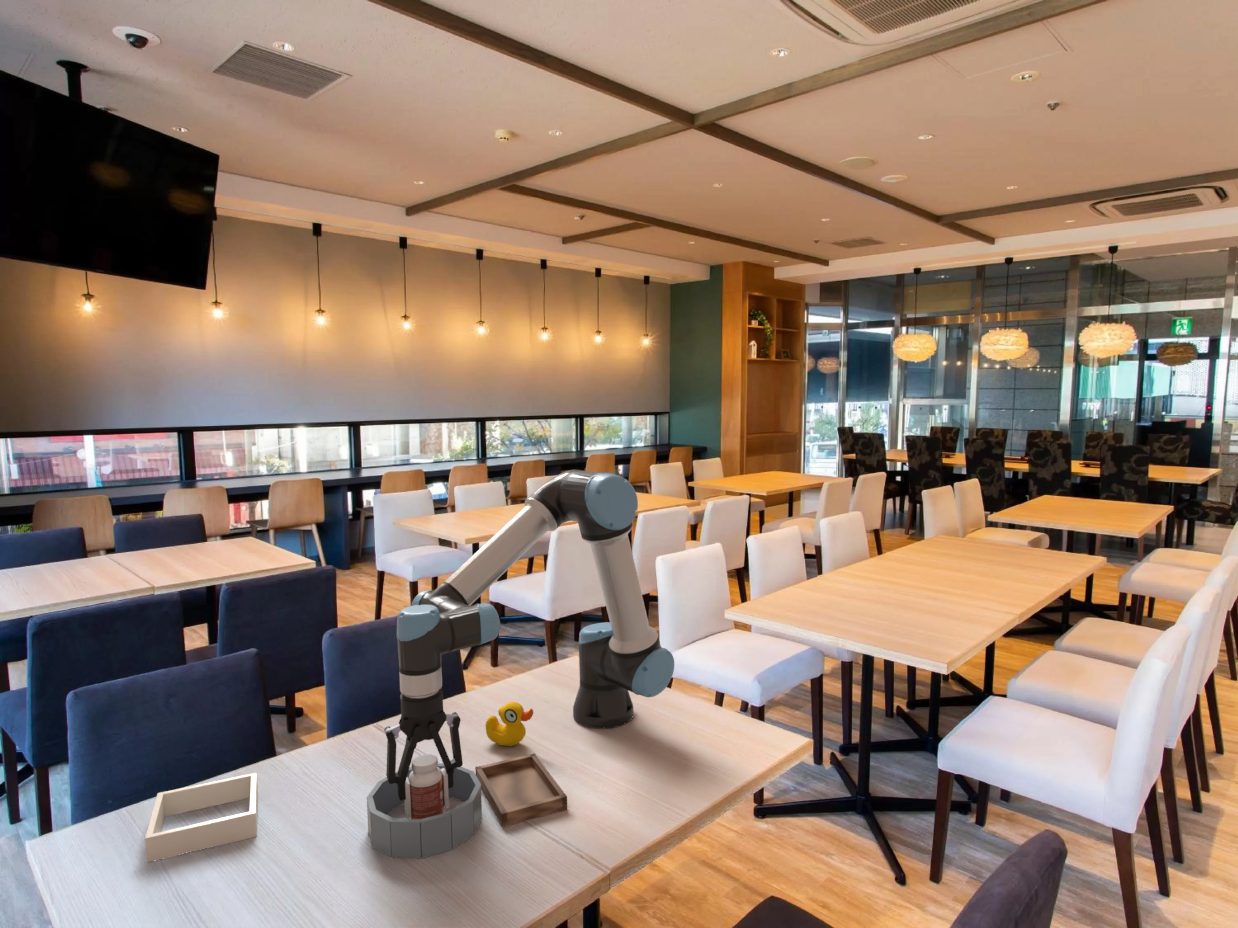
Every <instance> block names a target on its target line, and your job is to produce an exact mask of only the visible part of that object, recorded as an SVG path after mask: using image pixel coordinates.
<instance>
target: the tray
mask: <svg viewBox="0 0 1238 928" xmlns="http://www.w3.org/2000/svg"><path fill="white" fill-rule="evenodd" d="M475 774H476V776H477V778H478V780H479V782H480V783H481V792H482V793H483V796H485V798H486V801H487V802H488V804H489V806H490V807H491V809H492V811H493V813H494V815H495V817H496V819H497V821H498V822H499V824H500V826H501V827H502V828H504V827H507V826H511V825H515V824H519V823H523V822H526V821H530V820H534V819H537V818H541V817H544V816H548V815H552V814H555V813H559V812H563V811H566V810H568V796H567V794H566V793H565V792H564V790H563V789H562V788H561V787H560V785H559V784H558V782H557V781H556V779H554V778H553V775H552V774H551V773H550V772H549V771H548V769H547V768H546V766H545V765H544V764H543V762H542V761H541V760H540V759H539V757H538V756H537V755H536V753H530V754H526V755H522V756H518V757H517V756H516V757H514V758H509V759H505V760H499V761H497V762H492V763H487V764H484V765H478V766H475Z"/></svg>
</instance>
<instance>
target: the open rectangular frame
mask: <svg viewBox="0 0 1238 928" xmlns="http://www.w3.org/2000/svg"><path fill="white" fill-rule="evenodd" d="M246 799H249V811H246V812H241V813H237V814H233V815H229V816H224V817H220V818H215V819H211V820H206V821H202V822H198V823H194V824H190V825H185V826H180V827H175V828H170V829H168V830H162V828H163V824H164V821H165V817H169V816H174V815H179V814H183V813H189V812H191V811H197V810H200V809H206V808H211V807H215V806H218V805H219V806H220V805H223V804H229V803H232V802H236V801H242V800H246ZM258 805H259V790H258V772H252V773H246V774H242V775H238V776H233V777H228V778H223V779H219V780H214V781H208V782H205V783H200V784H195V785H190V786H185V787H180V788H176V789H172V790H171V789H170V790H168V791H167V790H164V791H160V792H157V794H156V797H155V802H154V804H153V808H152V813H151V815H150V816H151V817H150V820H149V823H148V827H147V830H146V832H145V833H146V834H145V835H144V836H145V837H144V846H145V857H146V858H145V859H146V863H147V862H149V861H154V860H158V861H160V860H159V859H162V860H164V859H163V858H166V859H169V858H168V857H170V858H172V857H171V856H174V857H177V856H176V855H178V856H180V855H179V854H182V853H186V852H190V851H195V850H199V851H201V850H200V849H203V850H206V849H205V848H207V849H210V847H211V848H213V847H212V846H215V847H220V846H222V845H226V844H230V843H236V842H239V841H243V840H247V839H251V838H255V837H258V808H259V807H258ZM195 852H196V851H195ZM190 853H191V852H190ZM186 854H187V853H186ZM182 855H183V854H182ZM154 862H155V861H154ZM149 863H150V862H149Z"/></svg>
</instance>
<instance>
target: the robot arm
mask: <svg viewBox="0 0 1238 928" xmlns="http://www.w3.org/2000/svg"><path fill="white" fill-rule="evenodd" d="M637 495H638V494H637V493H636V489H635V488H634V486H633V484H632V483H630V481H629V480H628V479H626V478H625V477H623V476H621V475H618V474H615V473H613V472H608V471H607V472H606V471H602V472H599V471H598V472H597V471H591V470H590V471H589V470H583V469H571V470H565V471H564V472H561V473H559V474H557V475H555V476H554V477H552V478H551V479H549V480H547V482H544V484H542V485H541V486H539V488H537V489H536V490H535V491H534V492H533V493H532V494H530V495H529V496H528V497H527V498H526V499H525V500H524V507H523V508H522V509H521V510H520V511H519V512H517V514H516V515H514V516H513V517H512V518H511V519H510V520H509V521H508V522H507V523H506V524H505V525H503V527H501V528H500V529H499V530H498V531H497V532H496V533H495V534H494V535H492V537H491V538H489V539H488V541H486V542H485V543H484V544H483V545H482V546H481V547H480V548H479V549H478V550H477V551H476V552H474V553H473V554H472V555H471V556H470V557H469V558H468V559H467V560H465V561H464V562H463V563H462V565H460V566H459V567H458V568H457V569H456V570H455V571H454V572H453V573H452V574H450V576H449V577H447V578H446V579H445V580H444V581H443V582H442V583H441V584H439V585H438V586H437V587H436V589H432V590H431V589H427V590H424V591H421V592H419V593H418V594H417V595H416V596H414V599H413V600H412V602H411V605H409V606H407V607H404V608H403V609H401V610H400V611H399V613H398V614H397V617H396V639H397V653H398V665H399V666H398V672H399V674H398V675H399V692H400V695H399V696H400V697H399V698H400V715H401V716H400V719H399V720H398V724H395V725H393V726H386V727H384V730H383V731H384V734H385V736H386V739H387V742H386V743H387V745H386V747H387V749H386V773H385V774H386V777H387V779H388V782H389V784H393V783H397V786H398V796H399V799H400V801H401V800H404V804H403V806H404V813H405V815H406V819H411V799H410V783H409V780H408V778H407V774H408V771H409V768H410V767H411V765H412V760H413V756H414V753H415V750H416V747H417V744H418V743H420V742H423V741H430V740H433V742H434V744H435V745H434V746H435V747H436V749H437V751H438V754H439V756H440V759H441V761H442V764H444V766H445V768H442V769H441V771H442V779H443V800H444V809H448V808H450V801H449V795H448V788H452V787H453V785H454V784H453V773H454V769H455V768H457V767H463V764H464V763H463V756H462V755H463V754H462V747H461V746H462V745H461V739H460V731H459V728H460V724H461V718H460V716H459V714H458V713H457V712H456V711H455V712H452V713H446V712H445V711H444V695H443V689H442V687H443V675H442V655H445V654H448V653H452V652H456V651H460V650H464V649H467V648H471V647H476V646H481V645H483V644H485V643H486V644H487V643H489V642H490V641H491V642H492V641H494V640H495V639H496V638H497V637H498V635H499V633H500V629H501V628H500V627H501V626H500V625H501V624H500V617H499V614H498V611H497V609H496V608H495V606H493V604H491V603H488V602H484V603H476V604H473V603H475V602H476V601H477V600H478V599H479V598H480V597H481V596H482V595H484V593H485V592H486V591H487V590H489V588H490V587H492V585H494V584H495V583H496V582H497V581H498V580H499V578H501V577H502V575H504V574H505V573H506V572H507V571H508V570H510V568H511V567H512V566H513V565H514V564H515V563H517V562H518V560H519V559H520V558H522V556H524V555H525V553H527V552H528V551H529V550H530V549H531V548H532V547H533V546H534V545H535V544H536V543H537V542H538V541H539V540H540V539H541V538H543V536H544V535H546V533H548V532H555V531H557V529H558V528H559V527H560V526H562V525H564V524H565V523H568V522H570V521H572V522H575V523H576V522H577V525H578V527H579V532H580V535H581V539H582V540H583V541H585V542H586V543H588V544H590V547H591V550H592V555H593V560H594V563H595V567H596V570H597V576H598V579H599V583H600V588H601V591H602V596H603V599H604V603H605V607H606V613H607V615H608V619H609V622H608V621H605V622H598V623H593V624H588V625H586V626H584V627H583V628H582V629H581V630H580V631H579V637H578V662H579V663H578V664H579V665H578V669H579V687H578V691H577V694H576V697H575V700H574V704H573V706H572V716H573V717H574V718H573V717H572V718H573V719H574V721H575V722H576V723H578V724H579V725H581V726H583V727H587V728H592V729H612V728H617V726H618V727H621V726H624V725H625V724H624V723H626V724H627V722H628V721H629V720H630V719H631V718H632V716H633V717H634V704H633V700H632V699H631V698H632V697H631V695H630V692H631V693H633V694H635V695H637V696H642V697H645V698H654V697H656V696H658V695H659V694H661V693H662V692H664V690H665V689H666V688H667V687H668V685H669V683H670V682H671V679H672V677H673V675H674V671H675V658H674V656H673V653H671V651H669V650H668V649H667V648H666V647H662V645H661V643H660V642H661V641H660V637H659V633H658V631H657V629H656V628H655V627H653V626H650V623H649V619H648V615H647V610H646V607H645V601H644V597H643V594H642V593H643V592H642V588H641V584H640V582H639V576H638V572H637V568H636V565H635V564H636V563H635V559H634V555H633V551H632V547H631V542H630V538H629V533H630V532H631V531H632V529H633V527H634V526H633V521H634V520H635V518H636V517H637V514H636V511H638V507H639V503H638V501H639V500H638V496H637ZM632 719H633V718H632ZM632 719H631V720H632ZM631 720H630V721H631ZM630 721H629V722H630ZM445 722H446V724H447V726H448V728H449V733H450V743H451V750H452V757H453V759H450V757H449V755H448V752H447V750H446V747H445V745H444V743H443V741H442V738H441V736H440V734H439V732H440V730H441V728H443V725H444V724H445ZM629 722H628V723H629ZM623 724H624V725H623ZM400 732H402V733H403V734H404V735H406V738H405V745H404V749H403V751H402V755H401V759H400V763H399V766H398V769H397V771H398V773H396V772H397V771H396V766H397V739H398V738H399V733H400Z"/></svg>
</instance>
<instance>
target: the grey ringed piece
mask: <svg viewBox="0 0 1238 928" xmlns="http://www.w3.org/2000/svg"><path fill="white" fill-rule="evenodd" d="M437 767H439V768H440V769H442V768H445V766H444V764H443V763H438V766H437ZM411 772H412V766H410V767H409V771H408V774H407V778H408V777H409V774H410V773H411ZM395 773H398V770H397V771H395ZM453 784H454V785H453V787H452V788H448V795H449V798H451V799H454V800H458V801H459V802H461V804H459V805H457V806H456V807H454V808H452V809H451V810H449V811H447V812H444V813H443V814H439V815H435V816H431V817H427V818H423V819H411V818H397V817H395V818H394V817H392V816H390V815H388V813H390V812H392V811H394V810H395V809H397V808H398V807H400V806H402V805H404V800H401V801H400V799H399V796H398V786H397V783H393V784H389V782H388V779H387V776H386V777H384V778H383V779H380V780H379V781H378V782H376V784H375V786H374V787H373V788H372V789H371V791H370V792H369V793H368V794H367V796H366V810H367V813H366V814H367V833H368V835H369V840H370V845H371V847H372V848H374V849H376V850H378V851H379V852H381V853H383V854H384V855H387V856H388V857H391V858H402V859H403V858H406V859H409V858H410V859H411V858H412V859H425V858H427V857H431V856H434V855H437V854H441V853H442V854H443V853H445V852H449V851H452V850H454V849H455V848H457V847H458V846H460V845H461V844H462V843H465V841H467V840H469V838H471V837H473V836H474V835H475V834H476V832H477V829H478V827H479V825H480V823H481V820H482V819H483V810H482V809H483V806H482V803H483V802H482V790H481V783H480V782H479V780H478V778H477V776H476V772H475V771H473V770H471V769H468V768H465V767H463V766H461V767H457V768H455V769H454V773H453Z"/></svg>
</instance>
